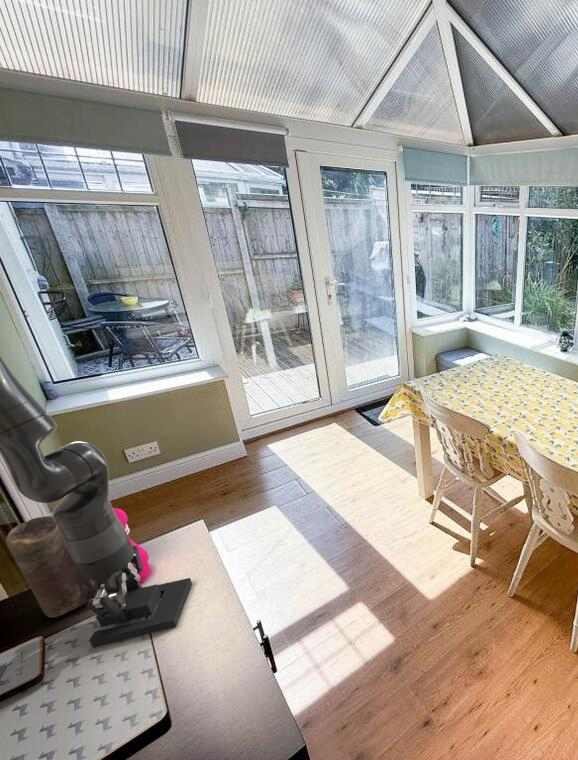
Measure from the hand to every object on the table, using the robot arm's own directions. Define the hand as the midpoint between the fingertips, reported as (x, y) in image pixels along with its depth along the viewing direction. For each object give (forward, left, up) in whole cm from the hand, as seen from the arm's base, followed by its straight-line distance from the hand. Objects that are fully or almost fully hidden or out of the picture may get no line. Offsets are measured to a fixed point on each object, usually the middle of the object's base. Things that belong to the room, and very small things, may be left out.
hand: (131, 608), depth 82 cm
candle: (-13, +7, -2) cm, 15 cm away
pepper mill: (-4, +11, -2) cm, 12 cm away
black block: (0, 0, -1) cm, 1 cm away
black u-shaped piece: (+2, 0, -2) cm, 3 cm away
